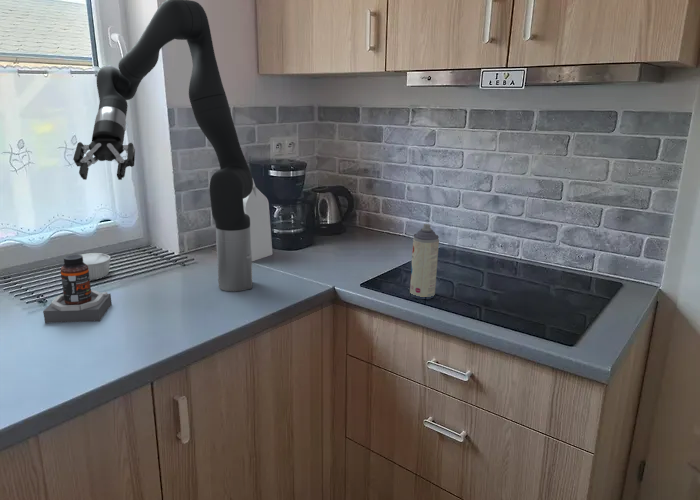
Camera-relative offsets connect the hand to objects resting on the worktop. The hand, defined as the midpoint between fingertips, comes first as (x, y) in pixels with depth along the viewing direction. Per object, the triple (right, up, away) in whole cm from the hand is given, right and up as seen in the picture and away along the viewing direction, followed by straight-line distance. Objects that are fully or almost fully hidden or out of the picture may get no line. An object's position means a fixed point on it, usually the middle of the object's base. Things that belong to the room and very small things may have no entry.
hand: (101, 177), depth 134 cm
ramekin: (-13, -26, +20) cm, 35 cm away
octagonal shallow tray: (-3, -34, -6) cm, 34 cm away
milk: (+29, -20, +42) cm, 55 cm away
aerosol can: (+83, -31, +11) cm, 89 cm away
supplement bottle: (-3, -31, -6) cm, 32 cm away
